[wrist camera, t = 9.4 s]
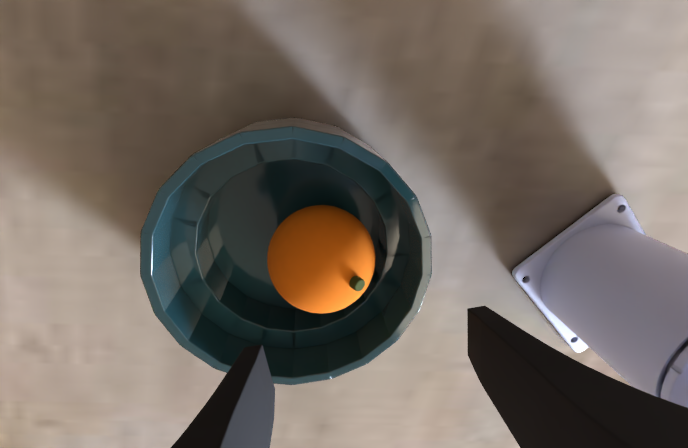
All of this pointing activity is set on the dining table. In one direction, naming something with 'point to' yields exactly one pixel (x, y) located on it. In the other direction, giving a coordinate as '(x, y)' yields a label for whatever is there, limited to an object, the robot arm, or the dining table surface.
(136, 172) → the dining table surface
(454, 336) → the dining table surface
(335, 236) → the mandarin
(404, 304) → the bowl
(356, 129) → the dining table surface
